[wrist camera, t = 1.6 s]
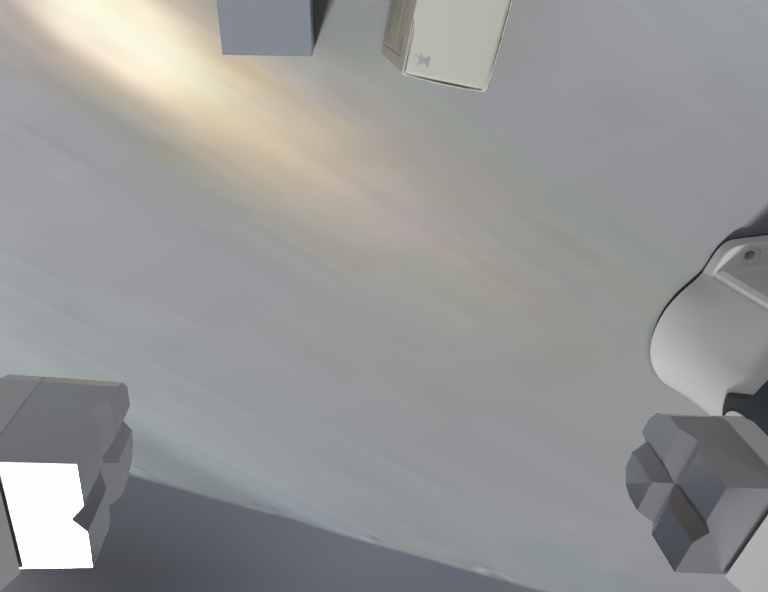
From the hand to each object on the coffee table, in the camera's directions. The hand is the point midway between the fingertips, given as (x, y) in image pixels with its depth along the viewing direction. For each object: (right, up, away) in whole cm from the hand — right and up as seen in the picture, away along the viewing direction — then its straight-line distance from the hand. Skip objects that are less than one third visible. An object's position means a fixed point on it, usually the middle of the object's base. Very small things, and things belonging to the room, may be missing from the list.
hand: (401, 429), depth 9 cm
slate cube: (-7, +20, +26) cm, 34 cm away
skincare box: (+2, +21, +27) cm, 34 cm away
